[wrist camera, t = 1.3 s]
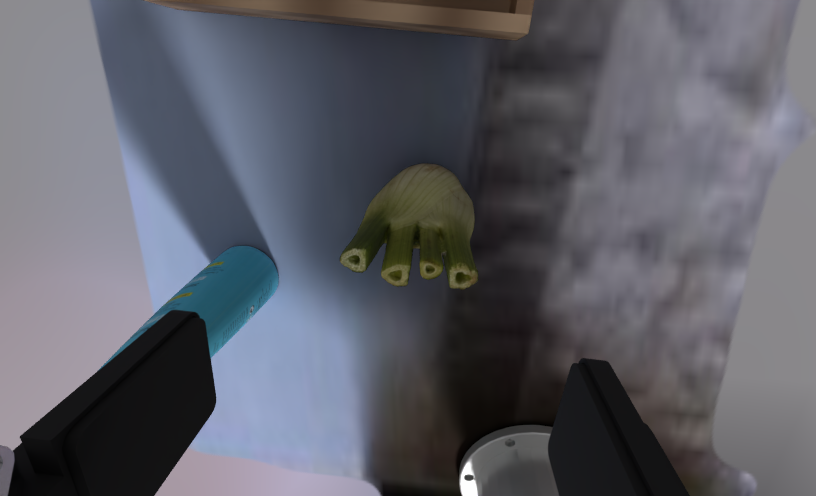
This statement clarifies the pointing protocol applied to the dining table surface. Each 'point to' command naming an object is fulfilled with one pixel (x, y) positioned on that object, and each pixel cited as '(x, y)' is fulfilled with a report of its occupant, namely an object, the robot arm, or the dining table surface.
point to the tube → (223, 295)
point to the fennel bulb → (418, 228)
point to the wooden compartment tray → (386, 14)
